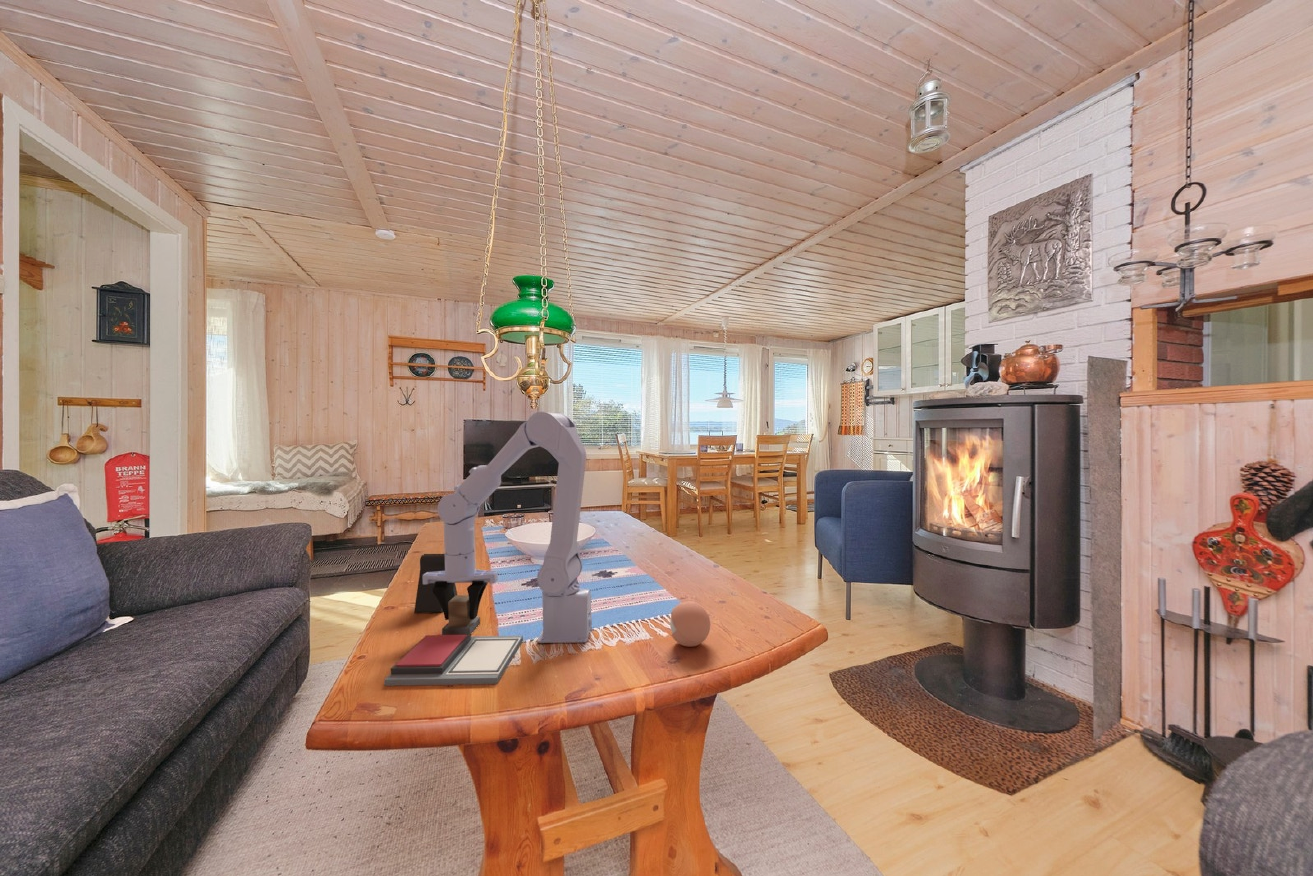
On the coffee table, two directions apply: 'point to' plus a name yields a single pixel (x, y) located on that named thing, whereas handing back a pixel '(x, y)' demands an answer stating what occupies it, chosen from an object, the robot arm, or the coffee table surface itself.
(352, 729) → the coffee table surface
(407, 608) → the coffee table surface
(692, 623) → the toy ball
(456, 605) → the stamp
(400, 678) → the stamp board
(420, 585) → the phone stand
